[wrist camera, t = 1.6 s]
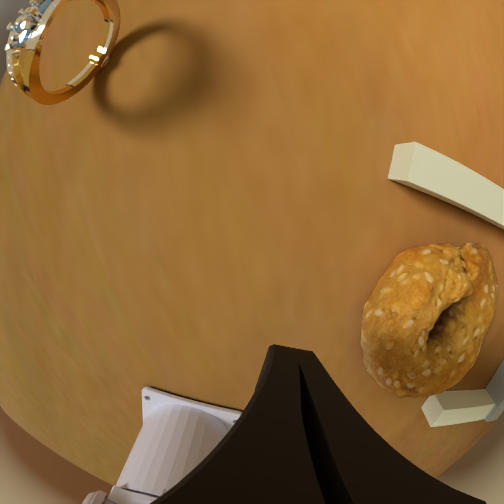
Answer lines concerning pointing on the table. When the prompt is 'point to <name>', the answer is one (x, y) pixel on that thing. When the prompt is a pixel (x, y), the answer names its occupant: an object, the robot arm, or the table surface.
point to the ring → (30, 35)
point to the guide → (477, 203)
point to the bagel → (428, 318)
